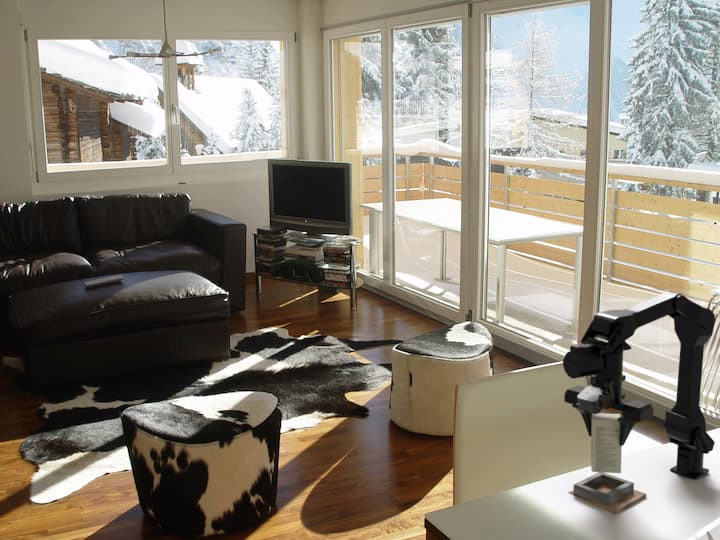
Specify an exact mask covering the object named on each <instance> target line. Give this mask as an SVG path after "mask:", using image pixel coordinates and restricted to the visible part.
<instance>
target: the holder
mask: <svg viewBox="0 0 720 540" xmlns="http://www.w3.org/2000/svg"><path fill="white" fill-rule="evenodd" d="M567 493H568V494H570V495H572V496H575V497H577V498H578V499H581V500H583V501H585V502H587V503H588V504H592V505H594V506H596V507H598V508H600V509H603V510H604V511H607V512H610V513H611V514H614V515H616V514H619V513H620V512H622V511H624V510H626V509H628V508H629V507H631V506H633V505H635V504H636V503H639V502H640V501H642V500H643V499H645V498H646V497H647V493H645V492H642V491H639V490H636V489H635V483H634V482H632V481H629V480H627V479H623V478H621V477H618V476H616V475H612V474H610V473H605V472H595V473H594V474H592V475H591V476H588V477H585V478H584V479H582V480H580V481H578V482H575V483H573V490H570V491H568V492H567Z"/></svg>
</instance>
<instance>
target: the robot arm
mask: <svg viewBox="0 0 720 540" xmlns="http://www.w3.org/2000/svg"><path fill="white" fill-rule="evenodd" d="M667 316H668V317H670V318H671V319H672V320H673V323H674V324H673V326H674V333H675V334H676V336H677V339H678V342H679V344H680V345H679V346H680V347H679V359H678V361H679V362H678V374H677V387H676V399H675V404H674V406H672V408H671V409H670V410H666V411H665V415H664V416H665V419H664V425H663V427H664V428H665V433H666V434H667V437H668V440H669V441H668V442H669V443H671V444H674V445H677V449H676V450H677V452H676V453H677V454H676V465H675V466H672V467H671V468H670V469H669V470H670V471H669V472H673V473H676V474H679V475H680V476H681V475H682V476H684V477H688V478H692V479H696V480H697V479H699V478H701V477H703V476H704V475H707V473H709V472H710V469H708V468H705V467H704V454H707V455H708V454H709V453H710V452H712V451H713V450H714V446H715V443H716V442H715V440H714V439H713V438H712V437H711V436H710V434H708V433H707V428H706V427H707V426H706V419H705V416H704V414H703V412H702V410H701V408H700V403H701V402H700V399H701V388H702V387H701V386H702V375H703V366H704V365H703V363H704V350H705V349H704V348H705V345H706V344H707V342H708V341H709V340H710V339H711V338H712V336H713V332H714V328H715V323H716V315H715V313H714V312H713V311H712V310H711V308H707V307H703V306H702V305H699V304H698V303H696V302H694V301H692V300H690V299H689V298H687V297H686V296H685V295H683V294H682V293H679V292H678V293H677V292H674V291H668V290H667V291H663V292H661V293H660V294H659V295H656V296H654V297H652V298H650V299H648V300H647V299H646V300H645V301H642V302H640V303H637V304H635V305H632V306H630V307H627V308H625V309H611V310H604V311H599V312H597V313H595V315H594V316H593V319H592V321H591V323H590V324H589V326H588V327H587V330H586V331H585V333H584V334H583V336H582V338H581V339H580V344H579V345H577V344H573V345H570V347H569V351H567V352H566V353H565V354H564V357H563V358H562V367H563V370H564V372H565V374H566V375H567V376H568V377H569V378H571V379H574V380H575V379H579V378H584V377H590V379H589V384H588V386H584V385H580V384H579V385H576V386H573V387H569V388H568V389H566V390H565V392H564V394H563V401H564V403H567V404H570V405H571V406H572V408H573V409H576V410H577V411H578V412H579V413H580V415H581V417H582V419H583V422H584V425H585V428H586V431H587V433H588V436H589V437H591V428H592V413H593V414H598V413H602V410H603V409H604V410H607V411H608V410H609V409H614V410H617V411H620V412H621V415H622V416H621V417H619V418H617V419H618V421H619V423H620V435H619V444H620V446H622V447H623V446H624V445H625V443H626V442H627V439H628V438H629V436H630V434H631V432H632V430H633V428H634V427H635V425H636V424H637V423H641V422H643V421H645V420H648V419H650V418H653V417H654V406H653V405H652V404H651V403H649V402H646V401H643V400H638V399H635V400H633V401H632V400H631V401H630V402H625V401H622V400H625V398H626V394H625V393H623V382H625V381H626V378H627V377H626V375H625V374H623V373H624V372H623V371H624V370H623V369H624V351H629V350H632V346H631V345H629V344H628V343H627V340H628V339H629V338H630V339H631V337H633V336H634V334H635V332H636V331H637V330H638V329H639V328H641V327H644V326H646V325H648V324H650V323H653V322H655V321H658V320H660V319H662V318H665V317H667Z"/></svg>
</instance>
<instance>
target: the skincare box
mask: <svg viewBox="0 0 720 540" xmlns="http://www.w3.org/2000/svg"><path fill="white" fill-rule="evenodd" d="M621 415H622V414H621V413H607V412H604V413H603V412H600V413H598V414H593V413H592V428H591V438H590V467H591V472H592V473H599V472H604V473H606V474H621V473H622V447H623V446H620V444H619V435H620V423H619V421H618V419H617V418H619V417H622V416H621Z"/></svg>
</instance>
